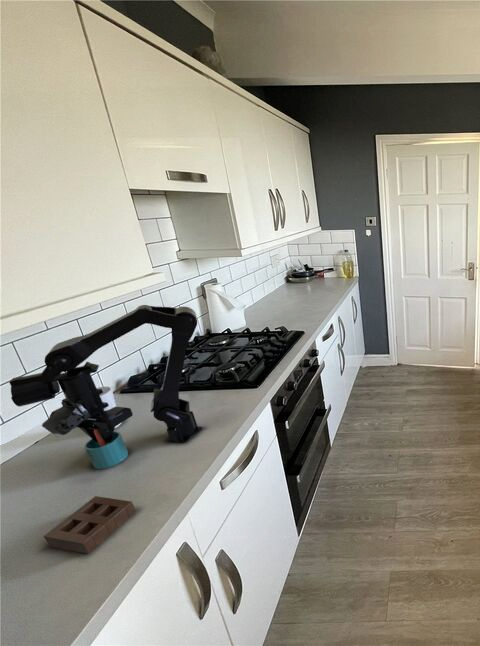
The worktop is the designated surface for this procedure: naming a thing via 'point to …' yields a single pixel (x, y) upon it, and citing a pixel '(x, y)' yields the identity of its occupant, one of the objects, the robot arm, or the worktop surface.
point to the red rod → (99, 438)
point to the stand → (90, 524)
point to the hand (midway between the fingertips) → (103, 441)
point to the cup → (108, 398)
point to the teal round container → (107, 452)
